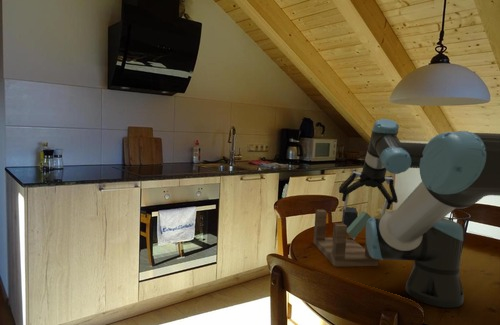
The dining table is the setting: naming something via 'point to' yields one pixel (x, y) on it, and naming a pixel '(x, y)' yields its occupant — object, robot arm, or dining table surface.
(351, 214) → the small box
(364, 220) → the green rectangular block
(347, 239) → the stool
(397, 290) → the dining table surface
